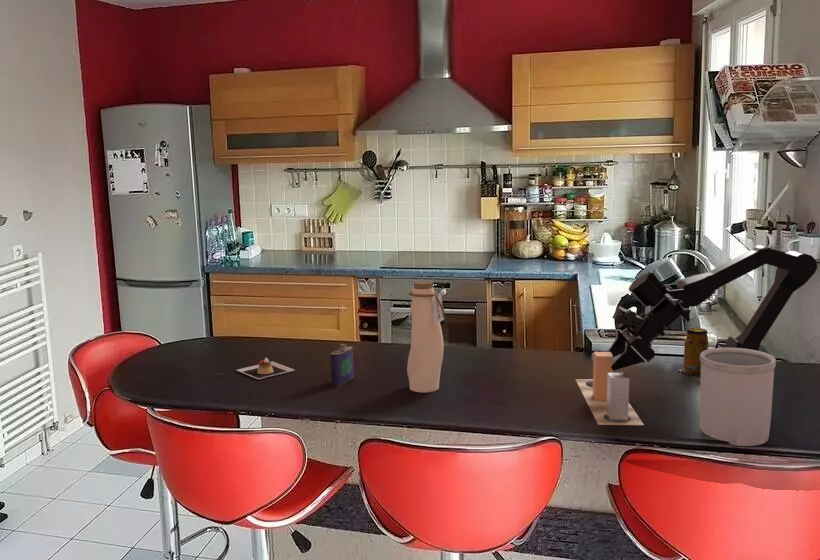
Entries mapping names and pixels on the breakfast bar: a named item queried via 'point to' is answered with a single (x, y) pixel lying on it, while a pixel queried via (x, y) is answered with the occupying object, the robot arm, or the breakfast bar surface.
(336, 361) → the flask
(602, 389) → the marker post
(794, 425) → the breakfast bar surface
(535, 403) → the breakfast bar surface
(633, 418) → the template board
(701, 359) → the utensil holder
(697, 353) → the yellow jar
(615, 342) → the robot arm
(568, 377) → the breakfast bar surface
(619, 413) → the fixed post
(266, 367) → the dessert
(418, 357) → the water bottle
